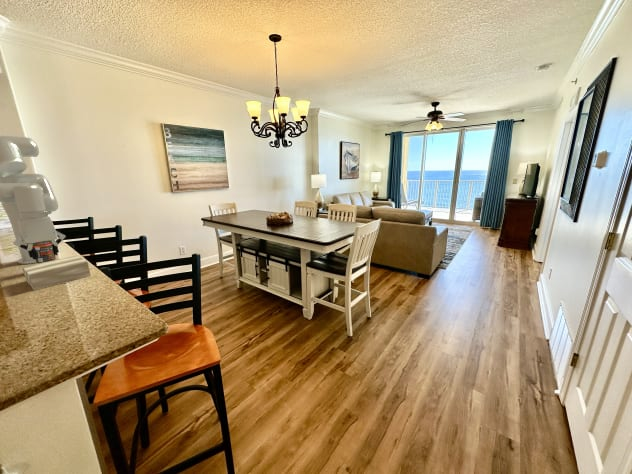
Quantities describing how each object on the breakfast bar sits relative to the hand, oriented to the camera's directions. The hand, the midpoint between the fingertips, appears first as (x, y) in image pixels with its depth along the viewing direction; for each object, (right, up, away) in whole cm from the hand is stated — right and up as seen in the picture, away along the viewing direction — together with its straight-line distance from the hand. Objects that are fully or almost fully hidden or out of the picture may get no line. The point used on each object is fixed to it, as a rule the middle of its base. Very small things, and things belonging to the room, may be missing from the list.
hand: (45, 256), depth 110 cm
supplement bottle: (0, -3, +1) cm, 3 cm away
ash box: (+14, -8, -8) cm, 18 cm away
